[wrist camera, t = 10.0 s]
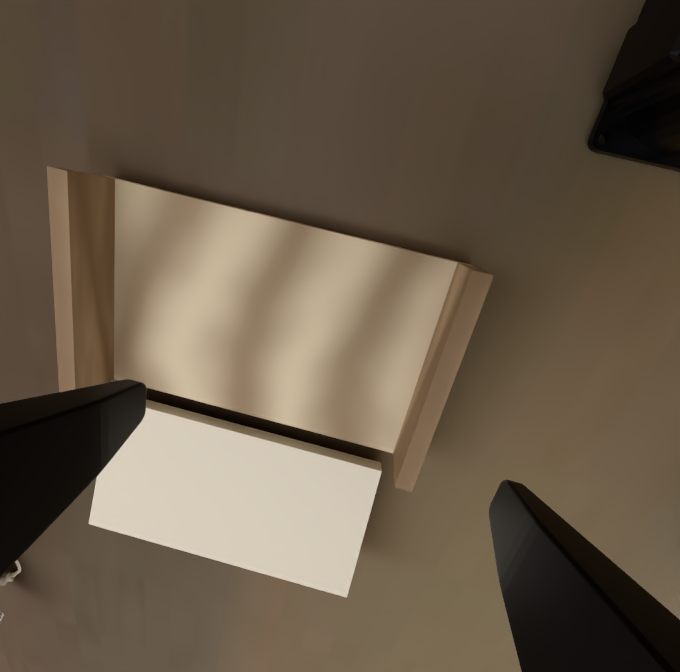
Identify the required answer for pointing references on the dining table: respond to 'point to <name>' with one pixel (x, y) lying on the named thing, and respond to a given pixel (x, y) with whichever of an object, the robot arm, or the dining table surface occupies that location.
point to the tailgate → (239, 497)
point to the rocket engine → (9, 580)
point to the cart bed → (257, 313)
